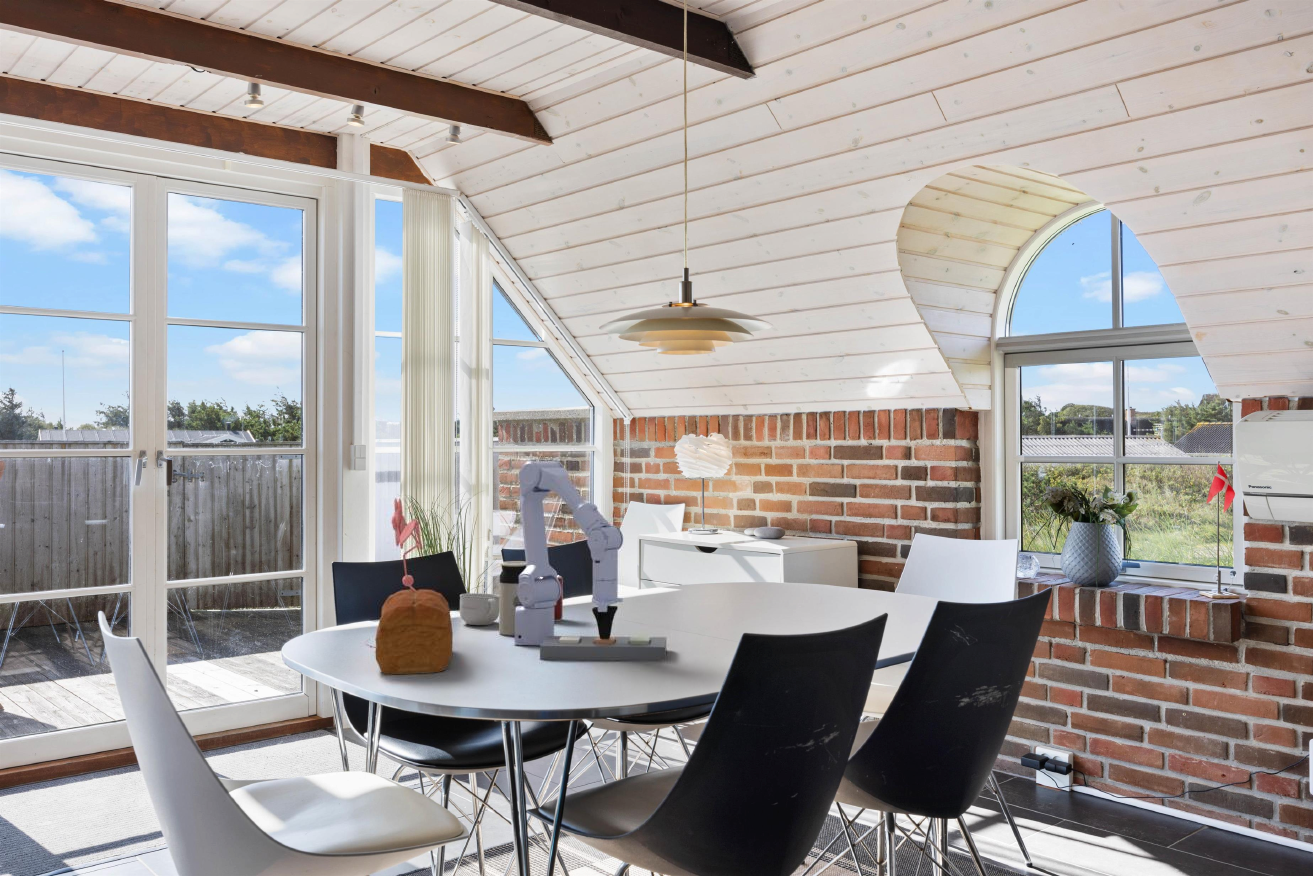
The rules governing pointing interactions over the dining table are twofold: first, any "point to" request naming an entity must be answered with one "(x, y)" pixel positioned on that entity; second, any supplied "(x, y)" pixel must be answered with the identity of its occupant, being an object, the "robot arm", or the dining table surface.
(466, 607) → the teacup
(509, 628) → the travel mug
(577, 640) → the cream button
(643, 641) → the sage button
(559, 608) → the soda can
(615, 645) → the button panel
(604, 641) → the rust button
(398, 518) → the figurine
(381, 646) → the bread
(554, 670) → the dining table surface
